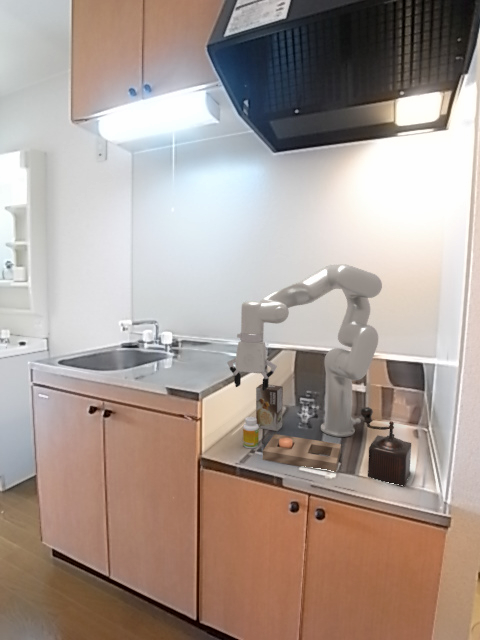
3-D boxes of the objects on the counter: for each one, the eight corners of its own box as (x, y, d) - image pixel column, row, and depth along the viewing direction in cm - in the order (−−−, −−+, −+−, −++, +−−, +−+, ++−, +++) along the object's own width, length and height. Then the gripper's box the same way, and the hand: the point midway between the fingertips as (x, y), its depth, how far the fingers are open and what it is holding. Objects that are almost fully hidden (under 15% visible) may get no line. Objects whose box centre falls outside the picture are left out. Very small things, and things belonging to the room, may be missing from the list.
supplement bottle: (257, 449, 130) (257, 422, 129) (241, 448, 131) (241, 420, 130) (259, 442, 135) (259, 416, 134) (244, 441, 136) (244, 415, 135)
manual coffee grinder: (411, 471, 116) (415, 414, 114) (404, 488, 107) (408, 426, 105) (360, 457, 125) (362, 404, 123) (349, 472, 115) (351, 414, 113)
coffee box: (283, 425, 150) (283, 386, 149) (277, 431, 145) (278, 390, 143) (261, 421, 155) (262, 383, 153) (255, 427, 149) (255, 387, 147)
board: (262, 459, 123) (262, 450, 122) (274, 442, 136) (274, 433, 136) (336, 472, 115) (336, 463, 115) (340, 452, 128) (341, 444, 128)
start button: (287, 445, 130) (288, 436, 130) (294, 451, 126) (295, 441, 126) (276, 448, 128) (276, 438, 128) (283, 453, 124) (283, 444, 124)
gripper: (224, 338, 128) (223, 387, 130) (274, 341, 122) (272, 393, 124) (232, 334, 135) (231, 382, 137) (280, 338, 129) (278, 387, 131)
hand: (251, 387), depth 131 cm, fingers open, 9 cm apart
